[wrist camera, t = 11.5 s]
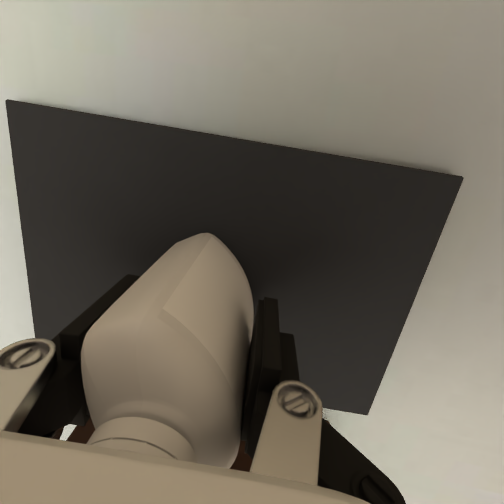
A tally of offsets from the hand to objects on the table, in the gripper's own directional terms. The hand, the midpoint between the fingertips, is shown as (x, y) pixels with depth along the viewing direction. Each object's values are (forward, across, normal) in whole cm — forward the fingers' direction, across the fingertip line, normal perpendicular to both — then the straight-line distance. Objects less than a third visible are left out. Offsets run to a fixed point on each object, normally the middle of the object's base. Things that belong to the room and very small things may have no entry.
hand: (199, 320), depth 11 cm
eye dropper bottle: (+4, 0, 0) cm, 4 cm away
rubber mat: (+4, 0, 0) cm, 4 cm away
